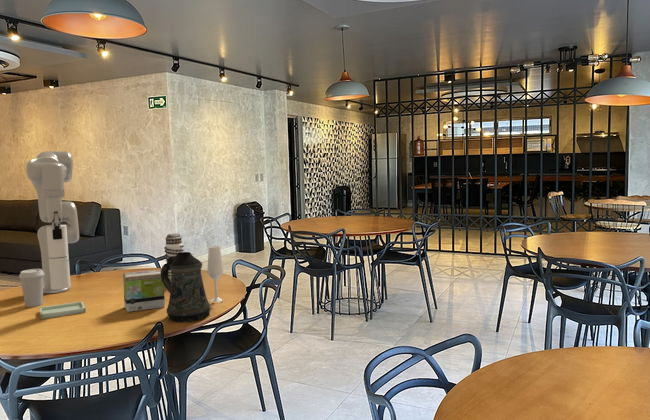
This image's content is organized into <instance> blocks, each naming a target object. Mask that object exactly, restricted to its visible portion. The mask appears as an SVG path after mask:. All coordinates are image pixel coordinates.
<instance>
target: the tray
mask: <svg viewBox="0 0 650 420" xmlns="http://www.w3.org/2000/svg"><path fill="white" fill-rule="evenodd" d="M84 313H86V306H85V304H84V301H83V300H82V301H75V302H68V303H61V304H60V303H59V304H56V305H54V304H53V305H47V306H41V307H39V315H40V316H39V317H40V318H39V319H40V320H44V319H46V320H47V319H51V318H52V319H53V318H59V317H64V316H71V315H77V314H84Z"/></svg>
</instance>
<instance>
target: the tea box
mask: <svg viewBox="0 0 650 420" xmlns="http://www.w3.org/2000/svg"><path fill="white" fill-rule="evenodd" d="M122 274H123V275H122V277H123V278H122V281H123V283H122V284H123V301H124V302H123V303H124V305H123V306H124V308H125V311H126V313H130V312H135V311H136V312H137V311H143V310H144V311H145V310H152V309H161V307H164V308H165V303H166V301H165V298H166V297H165V286H164V284H163V282H162V279H161V269H151V270H140V271H133V272H131V271H130V272H123V273H122Z"/></svg>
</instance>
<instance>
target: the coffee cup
mask: <svg viewBox="0 0 650 420" xmlns="http://www.w3.org/2000/svg"><path fill="white" fill-rule="evenodd" d="M43 275H44V272H43V270H42V268H31V269H25V270H22V271H20V273H19V275H18V278H20V285H21V289H22V295H23V301H24V305H25V308H36V307H39V306H42V305H43V302H44V293H43V288H44V283H43Z"/></svg>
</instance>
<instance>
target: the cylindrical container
mask: <svg viewBox="0 0 650 420" xmlns="http://www.w3.org/2000/svg"><path fill="white" fill-rule="evenodd" d="M54 228H55V227H54ZM61 229H62V239H56V240H54V239H53V232H52V230H53V226H47V227H46V230H47V243H48V256H49V270H50V283H51V289H64V288H68V287H70V288H71V272H70V271H71V269H70V258H69V243H68V241H67V228H66V225H61Z"/></svg>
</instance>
